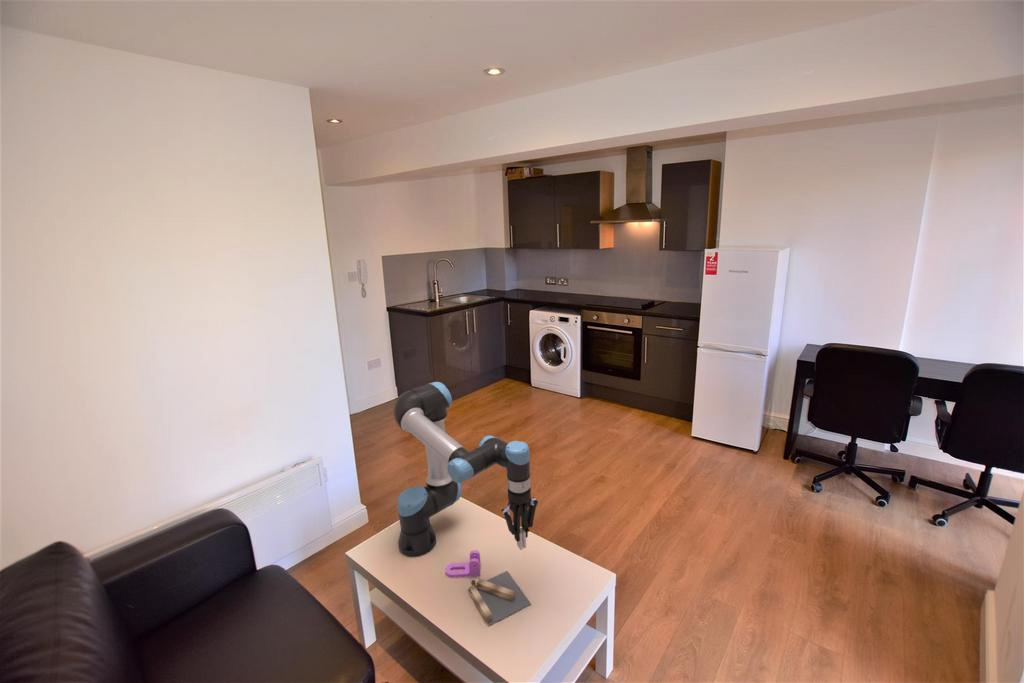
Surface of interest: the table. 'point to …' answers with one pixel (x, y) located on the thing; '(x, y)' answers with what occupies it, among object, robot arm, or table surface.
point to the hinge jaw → (496, 589)
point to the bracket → (465, 567)
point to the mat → (500, 605)
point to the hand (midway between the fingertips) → (521, 546)
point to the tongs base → (480, 602)
